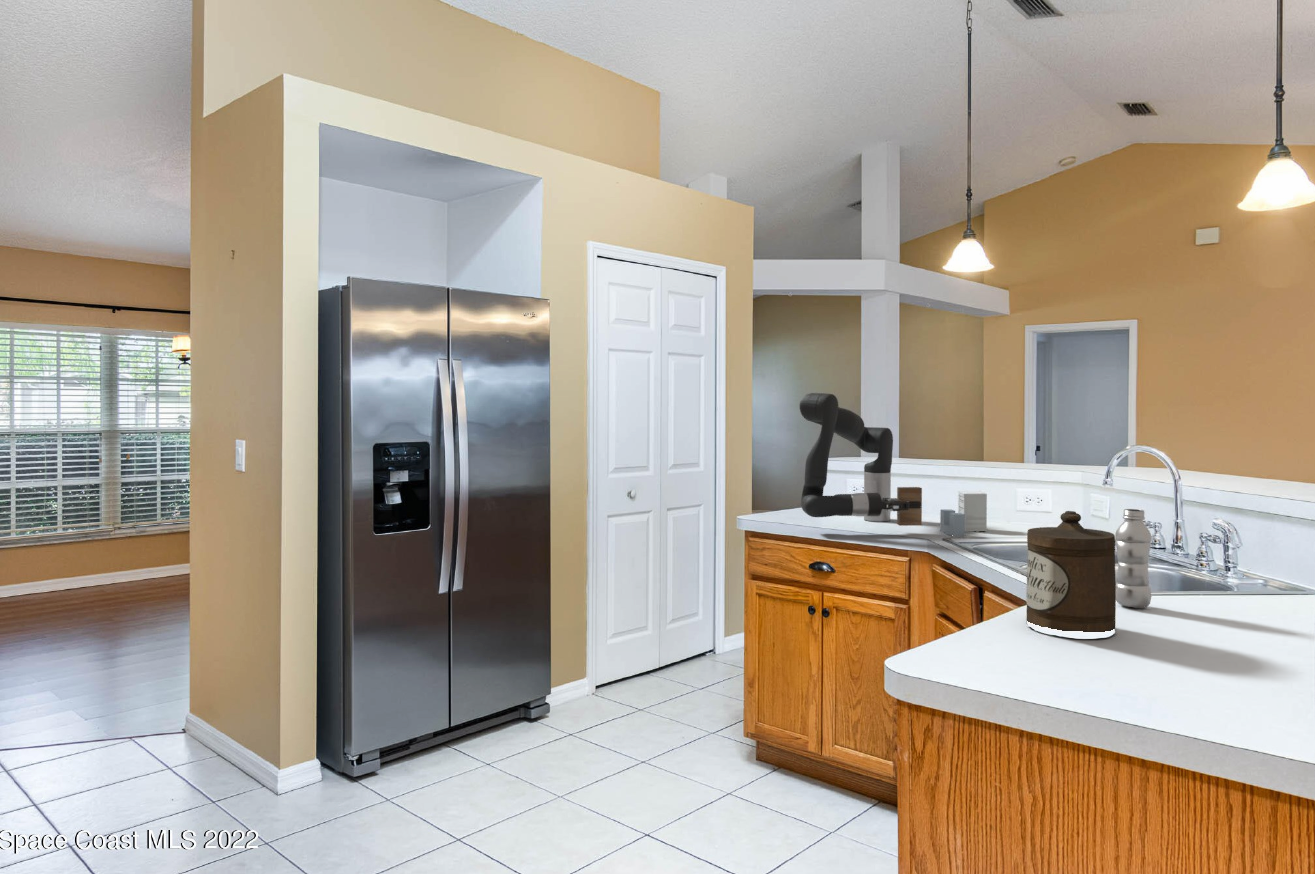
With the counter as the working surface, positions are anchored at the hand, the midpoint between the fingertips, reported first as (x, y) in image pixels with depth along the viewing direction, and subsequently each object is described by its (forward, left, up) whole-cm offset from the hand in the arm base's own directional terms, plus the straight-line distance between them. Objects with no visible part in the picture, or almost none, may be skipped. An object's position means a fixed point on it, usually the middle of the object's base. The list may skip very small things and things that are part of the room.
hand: (918, 504), depth 266 cm
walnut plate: (0, -3, -7) cm, 7 cm away
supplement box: (-7, +20, -10) cm, 23 cm away
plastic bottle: (+96, +14, -10) cm, 98 cm away
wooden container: (+112, -7, -10) cm, 113 cm away
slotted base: (0, +11, -10) cm, 14 cm away
